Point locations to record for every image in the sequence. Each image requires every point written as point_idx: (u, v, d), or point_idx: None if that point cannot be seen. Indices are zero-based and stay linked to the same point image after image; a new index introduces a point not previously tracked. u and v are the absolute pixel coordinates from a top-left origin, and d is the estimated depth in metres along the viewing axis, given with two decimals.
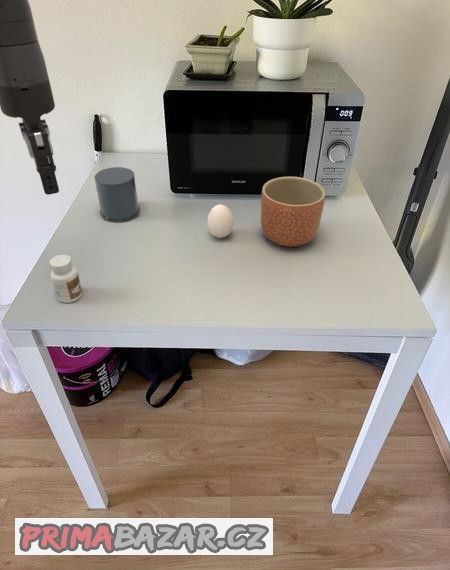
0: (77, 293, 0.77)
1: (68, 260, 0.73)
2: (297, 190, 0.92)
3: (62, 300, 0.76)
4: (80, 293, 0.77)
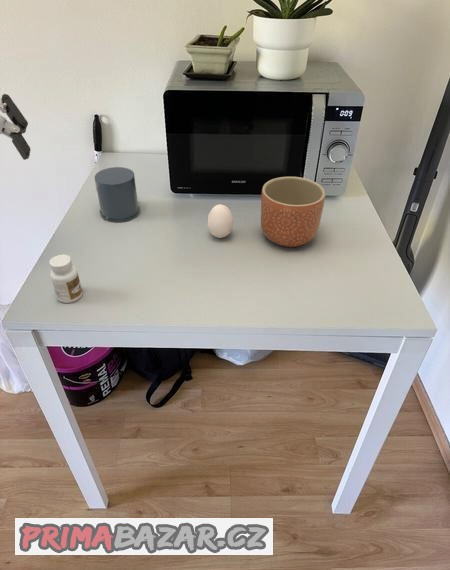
0: (77, 293, 0.77)
1: (68, 260, 0.73)
2: (297, 190, 0.92)
3: (62, 300, 0.76)
4: (80, 293, 0.77)
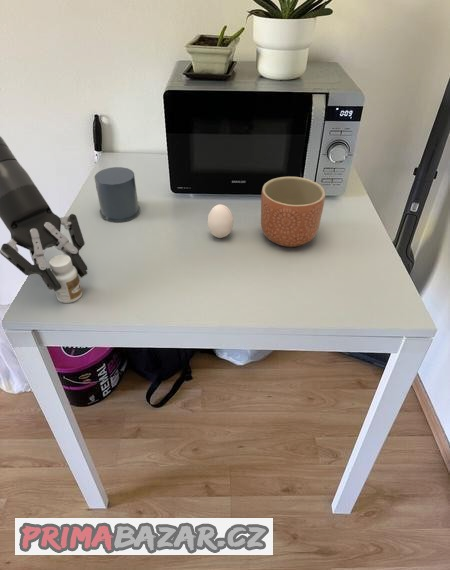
0: (77, 293, 0.77)
1: (68, 260, 0.73)
2: (297, 190, 0.92)
3: (62, 300, 0.76)
4: (80, 293, 0.77)
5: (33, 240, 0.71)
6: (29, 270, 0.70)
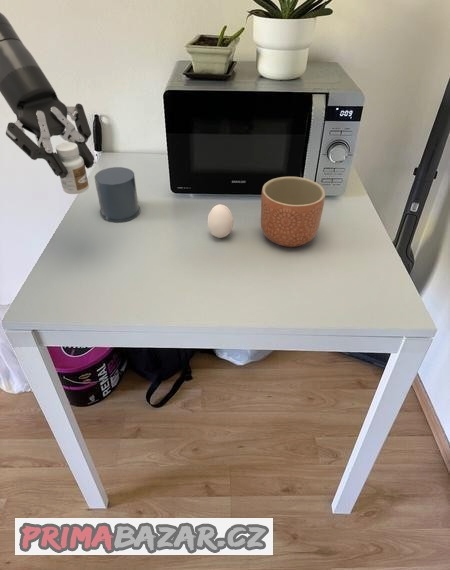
0: (84, 184, 0.75)
1: (75, 146, 0.72)
2: (297, 190, 0.92)
3: (68, 191, 0.75)
4: (86, 185, 0.76)
5: (39, 122, 0.70)
6: (35, 151, 0.69)
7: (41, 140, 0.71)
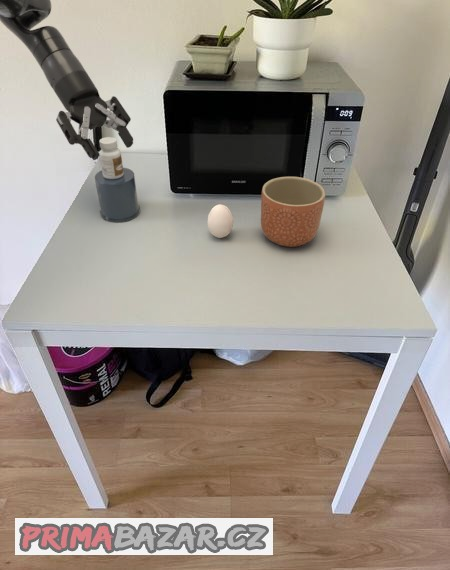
0: (120, 171, 0.93)
1: (114, 140, 0.90)
2: (297, 190, 0.92)
3: (108, 176, 0.93)
4: (122, 172, 0.94)
5: (87, 116, 0.87)
6: (74, 137, 0.85)
7: (81, 128, 0.87)
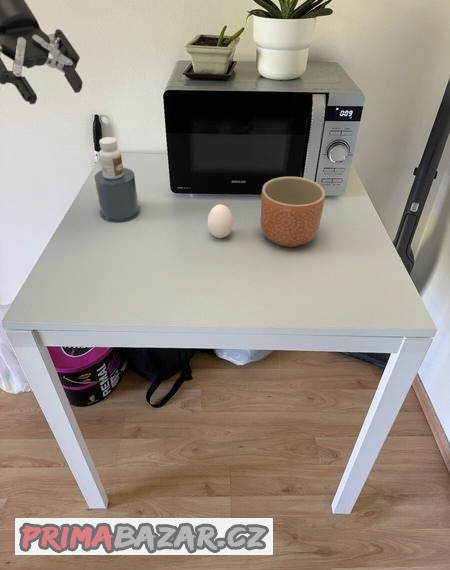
0: (120, 171, 0.93)
1: (114, 140, 0.90)
2: (297, 190, 0.92)
3: (108, 176, 0.93)
4: (122, 172, 0.94)
5: (21, 48, 0.70)
6: (3, 73, 0.68)
7: (14, 63, 0.70)
